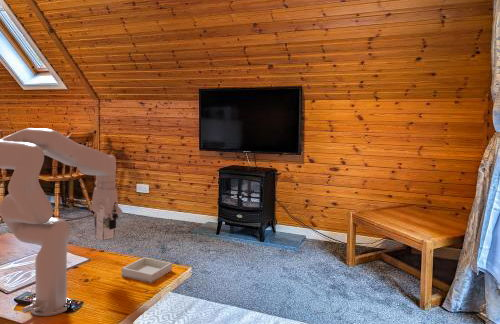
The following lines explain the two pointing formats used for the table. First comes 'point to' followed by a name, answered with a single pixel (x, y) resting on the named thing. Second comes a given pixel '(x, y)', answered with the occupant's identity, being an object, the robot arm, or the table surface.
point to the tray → (146, 269)
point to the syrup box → (103, 225)
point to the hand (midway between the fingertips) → (105, 227)
